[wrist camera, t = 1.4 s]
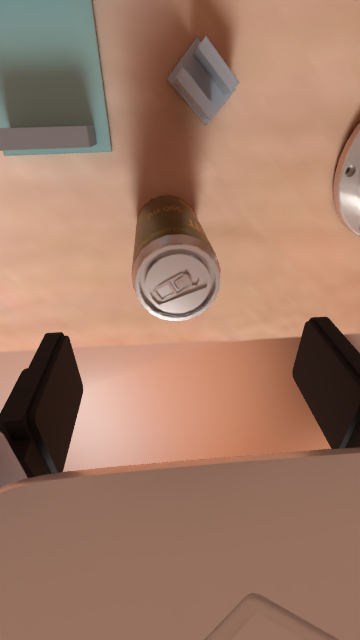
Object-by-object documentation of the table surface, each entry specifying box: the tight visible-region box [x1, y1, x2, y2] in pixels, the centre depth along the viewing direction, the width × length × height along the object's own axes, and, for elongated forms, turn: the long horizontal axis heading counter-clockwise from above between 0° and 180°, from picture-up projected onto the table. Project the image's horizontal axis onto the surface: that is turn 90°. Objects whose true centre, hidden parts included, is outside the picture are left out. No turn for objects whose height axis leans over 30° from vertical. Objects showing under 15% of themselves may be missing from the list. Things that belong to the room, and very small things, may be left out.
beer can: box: [132, 196, 220, 321], centre depth 22 cm, size 5×5×12 cm
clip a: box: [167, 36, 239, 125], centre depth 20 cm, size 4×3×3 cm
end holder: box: [0, 0, 112, 156], centre depth 19 cm, size 8×10×4 cm
